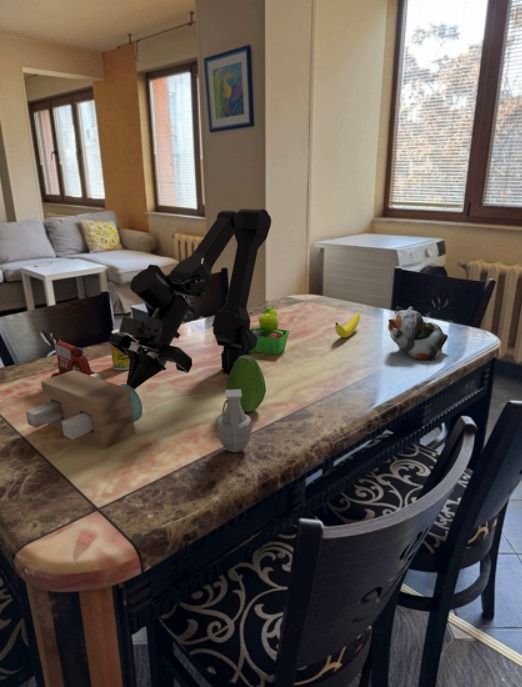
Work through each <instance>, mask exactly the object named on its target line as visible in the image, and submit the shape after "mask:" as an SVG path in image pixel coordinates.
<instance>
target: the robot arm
mask: <svg viewBox="0 0 522 687" xmlns="http://www.w3.org/2000/svg"><path fill="white" fill-rule="evenodd" d="M216 215H217V216H216V219H215V221H214V223H213V224H212V225H211V227H210V228H209V229H208V232H207V233H206V234H205V236H204V237H203V238H202V240H201V241H200V242H199V244H198V246H197V247H196V248H195V250H194V252H192V253H191V255H190V256H188V257H186V258H185V259H183V260H180V261H179V262H178V264H176V265H175V266H174V267H173V269H172V270H171V271H170V273H168V274H165V273H164V271H162V269H161V268H160V266H159V265H157V264H150V263H149V264H148V266H147V267H146V268H145V269H142V270H141V271H140V272H138V273H137V274H136V275H134V276H133V277H132V278H131V281H130V283H129V288H130V291H131V292H132V293H134V295H136V297H138V298H139V299H140V300H141V301H142V302H144V303H145V305H147V306H148V308H150V309H152V310H155V311H154V312H153V314H152V316H145V317H144V319H143V320H142V319H137V318H132V317H128V316H122V318H121V323H120V326H119V328H118V329H119V333H118V332H116V333H113V334H112V333H111V335H110V337H109V338H108V340H107V343H108V344H109V345H110V344H111V345H112V346H113V347H115V348H116V349H117V350H119V351H120V352H121V353H123V354H124V355H126V356H129V360H130V363H129V370H128V373H127V378H126V383H125V384H127V385H129V386H131V387H132V388H133V389H134V390H136V389H137V388H139V387H140V386H141V385H142V384H144V383H145V382H147V381H148V380H149V379H151V378H152V377H154V376H155V375H157V374H159V373H160V372H162V371H164V372H165V371H167V367H166V364H167V362H170V363H174V364H175V367H176V368H175V369H176V370H177V371H178V372H179V371H180V372H183V373H186V374H189V373H190V371H191V369H192V367H193V358H192V357H191V356H189V355H188V354H187V352H185V351H184V350H183V349H181V348H180V347H179V346H174V345H171V344H172V342H173V340H174V339H180V337H181V334H180V333H179V332H178V330H179V329H180V327H181V325H182V323H183V322H184V319H185V318H186V316H187V314H188V315H194V316H195V315H196V313H197V311H196V307H195V304H194V301H192V300H188V299H186V298H185V297H184V296H186V297H192V298H200V297H202V296H203V295H204V294H205V293H206V291H207V290H208V287H209V284H210V282H211V280H212V270H213V267H214V265H215V264H216V262H217V260H218V259H219V258H220V256H221V255H222V253H223V252H224V250H225V248H226V247H227V246H228V244H229V243H230V241H231V239H232V238H233V237H234V239H235V241H236V243H237V244H236V245H237V246H236V250H235V256H234V260H233V266H232V271H231V276H230V281H229V285H228V291H227V296H226V302H225V304H224V306H223V307H222V308H221V309H216V310H215V313H214V318H213V323H212V325H211V327H213V328H212V333H213V335H214V338H215V341H216V343H217V346H220V347H223V348H222V349H223V350H222V351H221V354H220V358H221V369H222V374H224V375H225V374H226V375H230V372H231V370H232V367H233V365H234V363H235V361H236V360H237V359H238V358H239V357H240V356H243V355H248V356H250V357H252V356H251V354H252V353H251V352H252V351H251V350H253V349H254V347H256V345H257V340H258V338H257V337H256V336H255V335H254V333H253V332H252V331H251V330H250V329H251V318H250V315H249V313H248V309H247V308H248V302H249V296H250V291H251V286H252V283H253V281H252V280H253V276H254V272H255V271H254V270H255V266H256V260H257V257H258V256H257V255H258V251H259V248H260V247H261V246H262V245H263V243H265V241H266V240H267V238H268V236H269V232H270V229H271V226H272V218H271V215H270V214H269V212H268V211H267V209H264V208H241V209H239V210H229V209H227V210H226V209H224V210H221V211H219V212H218V213H217V214H216ZM122 333H128V334H129V335H126V334H122ZM131 336H132V337H131Z"/></svg>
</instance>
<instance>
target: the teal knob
mask: <svg viewBox="0 0 522 687" xmlns="http://www.w3.org/2000/svg"><path fill="white" fill-rule="evenodd" d="M118 385H119V386H122V387H125V388H128V389H130V393H131V402H132V412H133V421H134V423H135V422H137V421H139V420H140V419H141V418H142V415H143V404H142V403H143V402H142V401H141V398H140V396H139V394H138V393H137V391H136V389H133V388H132V387H131V386H129V385H127V384H126V383H122V384H118ZM62 426H63V431H62V432H63V436H65V437H67V438H69V439H70V440H74V439H75V440H76V439H77V437H79V436H81V435H83V434H86V433H88V432H90V431H92V430H93V423H92V415H90V414H87V413H85V412H83V413H81V414H79V415H76V416H74V417H72V418H69V419H67V420H65V421H63V422H62Z"/></svg>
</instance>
